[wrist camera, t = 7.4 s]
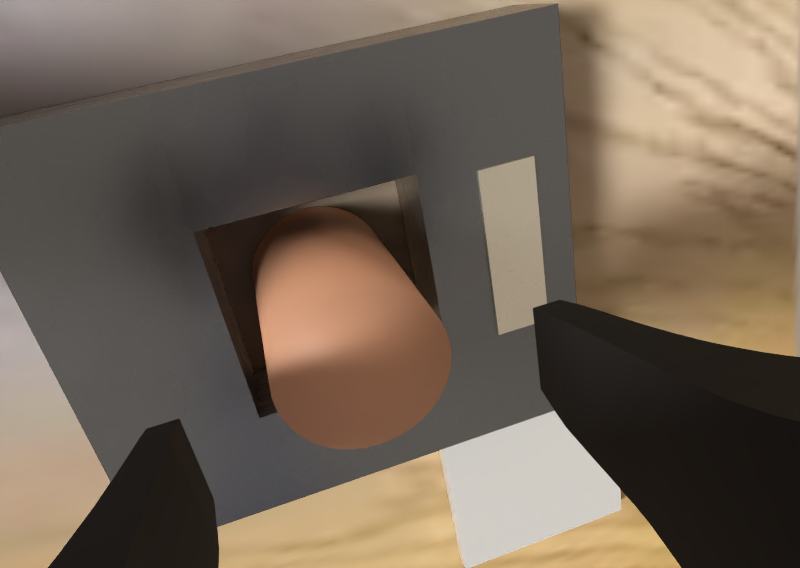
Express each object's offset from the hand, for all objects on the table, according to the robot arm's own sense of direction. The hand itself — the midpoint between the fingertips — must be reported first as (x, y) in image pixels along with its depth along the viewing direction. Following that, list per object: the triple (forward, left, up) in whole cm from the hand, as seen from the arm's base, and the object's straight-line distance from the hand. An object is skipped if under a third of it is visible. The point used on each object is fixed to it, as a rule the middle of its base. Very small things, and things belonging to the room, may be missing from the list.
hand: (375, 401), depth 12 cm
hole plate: (0, 0, -7) cm, 7 cm away
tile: (-10, -6, -7) cm, 14 cm away
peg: (0, 0, -7) cm, 7 cm away
